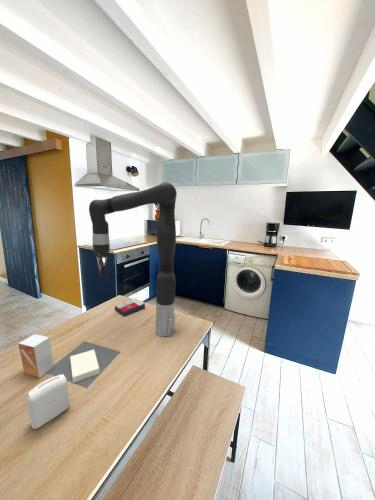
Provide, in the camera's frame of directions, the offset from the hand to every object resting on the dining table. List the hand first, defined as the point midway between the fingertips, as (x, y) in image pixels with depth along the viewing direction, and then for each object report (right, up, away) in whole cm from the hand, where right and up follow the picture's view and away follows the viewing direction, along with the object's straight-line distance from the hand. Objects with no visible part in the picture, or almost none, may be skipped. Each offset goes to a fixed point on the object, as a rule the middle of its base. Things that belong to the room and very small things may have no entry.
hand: (102, 276), depth 103 cm
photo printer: (0, -38, -38) cm, 54 cm away
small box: (-15, -34, -22) cm, 43 cm away
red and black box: (+6, -25, +28) cm, 38 cm away
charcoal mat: (0, -33, -17) cm, 37 cm away
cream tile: (-2, -31, -16) cm, 35 cm away
